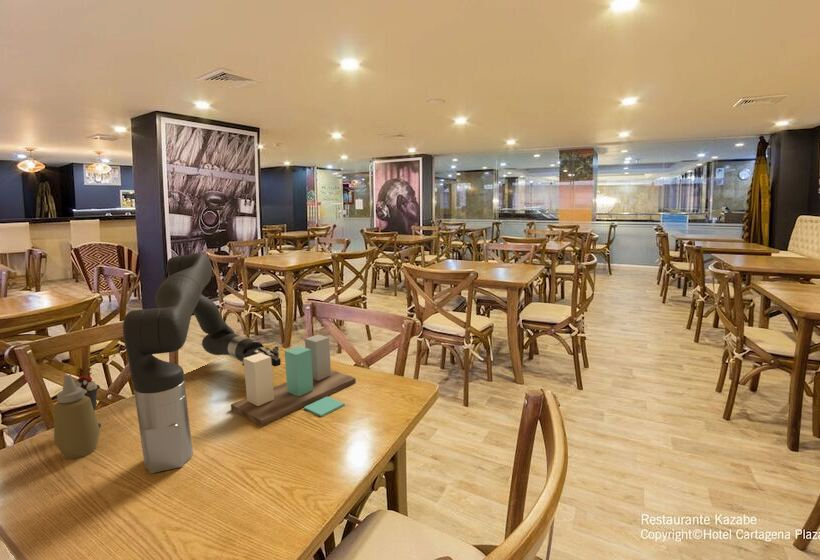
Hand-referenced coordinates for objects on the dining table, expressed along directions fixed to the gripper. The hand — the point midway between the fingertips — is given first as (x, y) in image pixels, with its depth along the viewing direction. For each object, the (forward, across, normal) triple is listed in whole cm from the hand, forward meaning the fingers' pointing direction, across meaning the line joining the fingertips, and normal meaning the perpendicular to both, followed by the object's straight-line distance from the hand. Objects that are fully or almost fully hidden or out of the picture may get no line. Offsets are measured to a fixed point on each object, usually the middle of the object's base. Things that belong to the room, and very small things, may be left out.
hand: (278, 362), depth 129 cm
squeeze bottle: (-7, -47, +8) cm, 48 cm away
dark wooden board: (+9, 0, +8) cm, 11 cm away
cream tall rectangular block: (+6, -10, +6) cm, 13 cm away
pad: (+20, 0, +8) cm, 21 cm away
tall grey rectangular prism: (+6, +10, +6) cm, 13 cm away
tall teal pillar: (+10, 0, +6) cm, 12 cm away
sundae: (-17, -43, +8) cm, 47 cm away
